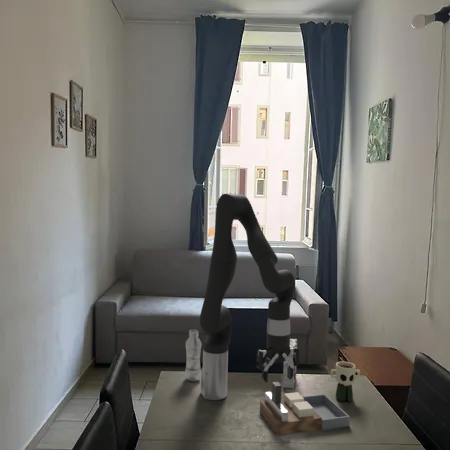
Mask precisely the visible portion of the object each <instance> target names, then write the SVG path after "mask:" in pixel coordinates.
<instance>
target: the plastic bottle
mask: <svg viewBox="0 0 450 450" xmlns="http://www.w3.org/2000/svg"><path fill="white" fill-rule="evenodd" d="M199 334H200V333H199V330H197V329H190V330H189V332H188V339H186V341H185V351H186V362H185V363H186V364H185V371H184V377H185V379H186V381H189V382H199V380H201V361H200V359H201V350H202V341H201V340H200V338H199Z"/></svg>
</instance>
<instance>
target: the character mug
mask: <svg viewBox="0 0 450 450" xmlns="http://www.w3.org/2000/svg"><path fill="white" fill-rule="evenodd" d="M335 363H336V364H335V368H334V369H333V368H332V369H331V370H330V378H332V379H335V381H336V382H337V384H336V385H337V386H336V390H335V398H336V399H337V400H338V401H340V402H346V400H347V402H353V400H354V394H353V393H354V392H353V384H354V383H355V381H356V379H360V377H361V369H356V368H357V367H356V364H355V363H353V362H348V361H338V362H335ZM356 373H357V375H356ZM334 374H335V375H334Z"/></svg>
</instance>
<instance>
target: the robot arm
mask: <svg viewBox="0 0 450 450" xmlns="http://www.w3.org/2000/svg"><path fill="white" fill-rule="evenodd" d="M215 207H216V208H215V221H214V223H215V224H214V236H213V244H212V252H211V256H210V263H209V271H208V278H207V283H206V290H205V295H204V299H203V303H202V306H201V309H200V315H199V325H200V329H201V330H202V332H204V334H206V335H208V336H207V337H206V339H205V340H204V342H203V345H202V346H203V347H202V367H200V369H201V377H200V394H201V395H202V398H203V400H210V401H220V400H224V399H225V398H227V396H228V371H229V370H228V366H229V365H228V364H229V345H230V344H231V340H232V339H231V338H232V337H231V336H232V327H233V319H232V313H231V311H230V310H229V308H228V307H227V306H224V305H223V301H224V297H225V295H226V292H227V290H228V289H229V287H230V285H231V283H232V282H233V279H234V277H235V274H236V267H237V262H238V261H237V260H238V256H237V255H238V254H237V249H236V248H235V245H234V241H233V237H232V231H233V230H232V229H233V224H234V223H233V222H234V221H239V223H240V224H241V226H242V227H243V229H244V230H245V233H246V241H247V248H248V251H249V254H250V255H251V256H252V258H253V260H254V262H255V263H256V265H257V266H258V269H259V270H258V271H259V274H260V278H261V281H262V284H263V286H264V288H265V289H266V290H267V292H269V293H271V294H275V295H274V297H273V298H271V299H270V301H268V306H267V307H268V309H267V311H268V312H267V322H266V349H263V350H262V349H259V348H258V349H257V351H256V362H255V363H256V364H255V366H256V368H257V369H258V370H259V371H261V379H262V380H263V381H264V383H268V381H269V371H268V370H269V368H270V367H271V366H272V365H273V364H278V363H283V362H284V361H285V362H286V363H287V364H288V368H287V377H288V379H292V377H293V374H294V367H295V366H296V367H299V365H300V350H299V347H298V346H297V347H295V346H293V348H290V339H291V320H290V319H291V302H292V301H293V297H294V293H295V289H296V287H295V286H296V279H295V276H294V273H292V271H290V270H289V269H281V270H277V269H276V265H277V263H278V261H279V260H278V256H277V254H276V252H275V251H274V248H272V246H271V244H270V243H269V241H268V240H267V237H265V234H264V232H263V230H262V228H261V225H260V222H259V220H258V218H257V215H256V213H255V211H254V208H253V206H252V204H251V201H250V200H249V198H248V197H247V196H246V195H244V194H241V193H228V192H227V193H222V194H221V195H220V196H219V198H218V199H217V202H216V206H215ZM290 353H292V354H293V362H291V360H290V359H289V358H288V356H289V354H290ZM265 356H266V358H265ZM264 358H265V359H264Z"/></svg>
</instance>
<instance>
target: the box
mask: <svg viewBox="0 0 450 450" xmlns="http://www.w3.org/2000/svg"><path fill="white" fill-rule="evenodd" d="M302 397H303V398H304V401H307V402H308V403H309V404H310V405H311V406H312V407H313V408H314V411H315V412H316V413H317V414H318V415H319V416H320V417H321V418H322V425H321V430H320V431H323V432H324V431H330V430H338V429H344V428H351V426H350V425H351V416H350V414H348V413H347V412H345V410H344V409H342V408H341V407H340V406H339V405H337V404H336V403H335V402H334V401H333V400H332V399H331V398H330V397H329V396H328V395H326V394H325V393H324V394H322V393H321V394H315V395H314V394H312V395H305V396H302Z"/></svg>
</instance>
